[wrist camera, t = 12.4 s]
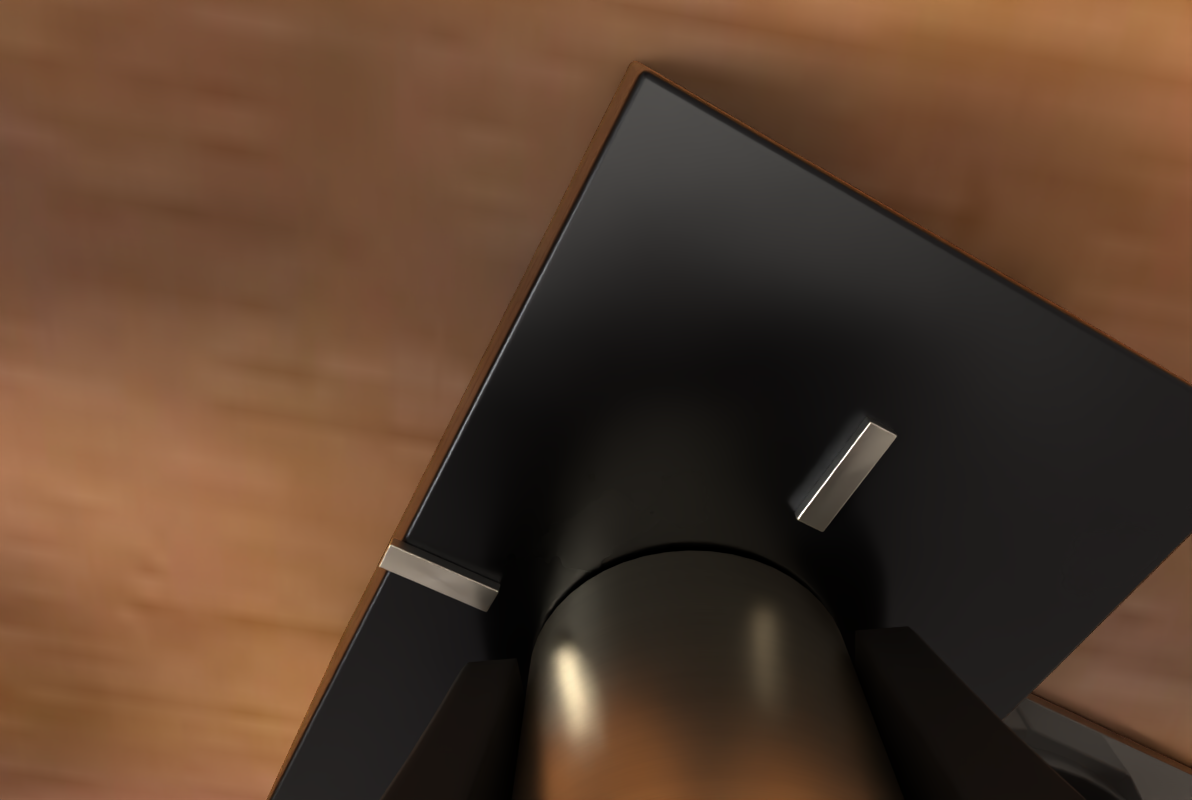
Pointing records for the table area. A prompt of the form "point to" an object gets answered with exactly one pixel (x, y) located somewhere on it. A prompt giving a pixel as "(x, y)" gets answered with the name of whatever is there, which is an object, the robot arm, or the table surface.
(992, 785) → the robot arm
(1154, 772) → the hob
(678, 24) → the table surface
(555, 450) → the box
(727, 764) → the knob
